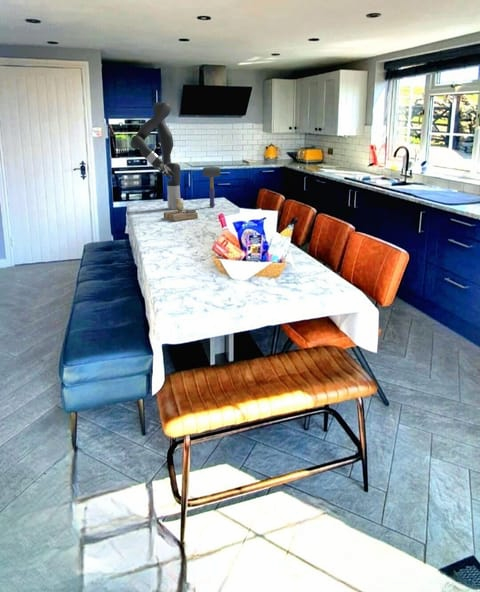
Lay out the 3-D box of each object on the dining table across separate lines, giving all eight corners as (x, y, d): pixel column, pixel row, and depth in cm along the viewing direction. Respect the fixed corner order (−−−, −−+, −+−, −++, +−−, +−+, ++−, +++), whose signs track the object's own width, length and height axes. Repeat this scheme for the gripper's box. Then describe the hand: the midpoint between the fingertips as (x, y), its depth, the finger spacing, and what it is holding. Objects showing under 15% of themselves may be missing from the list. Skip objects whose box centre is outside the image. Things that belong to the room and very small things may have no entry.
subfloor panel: (163, 217, 349) (163, 212, 347) (186, 214, 359) (186, 209, 358) (174, 221, 338) (174, 215, 336) (197, 218, 348) (197, 212, 346)
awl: (175, 216, 348) (174, 199, 344) (181, 215, 351) (180, 198, 347) (179, 217, 345) (177, 199, 340) (185, 216, 347) (184, 198, 343)
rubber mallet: (219, 206, 391) (219, 166, 380) (221, 207, 384) (220, 167, 373) (203, 206, 389) (202, 166, 378) (204, 208, 382) (203, 167, 371)
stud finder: (185, 212, 346) (185, 209, 345) (193, 211, 350) (193, 208, 349) (188, 213, 344) (188, 210, 343) (195, 212, 347) (195, 209, 346)
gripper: (155, 157, 335) (173, 174, 338) (160, 154, 348) (178, 171, 351) (148, 165, 338) (166, 182, 341) (153, 162, 351) (171, 179, 354)
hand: (172, 177), depth 346 cm, fingers open, 8 cm apart
